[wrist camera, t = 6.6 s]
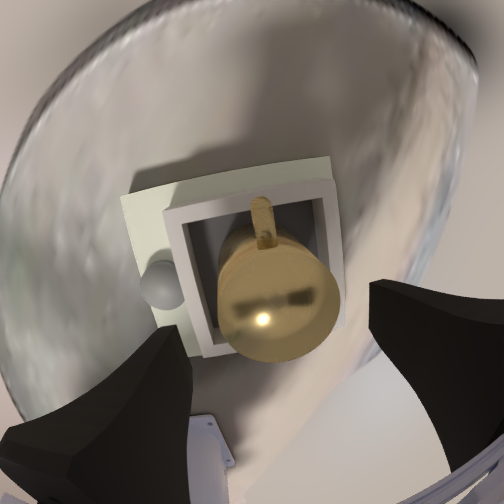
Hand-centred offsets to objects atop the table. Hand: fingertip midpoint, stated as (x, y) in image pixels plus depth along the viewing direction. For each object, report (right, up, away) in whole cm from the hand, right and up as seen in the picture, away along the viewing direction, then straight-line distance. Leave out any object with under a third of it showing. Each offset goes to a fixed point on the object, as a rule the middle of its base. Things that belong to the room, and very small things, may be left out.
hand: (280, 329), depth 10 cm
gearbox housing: (-2, +2, +8) cm, 8 cm away
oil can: (-1, +2, +6) cm, 7 cm away
